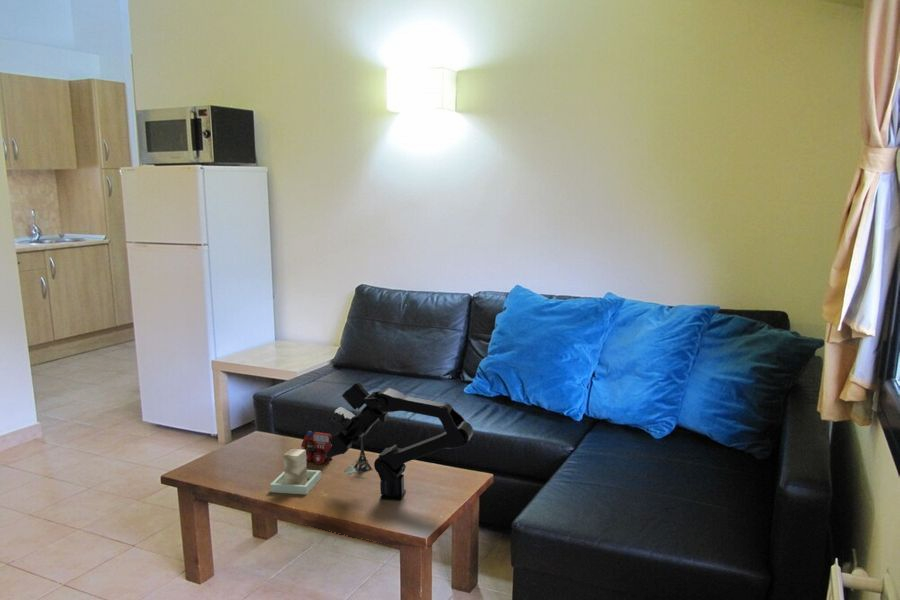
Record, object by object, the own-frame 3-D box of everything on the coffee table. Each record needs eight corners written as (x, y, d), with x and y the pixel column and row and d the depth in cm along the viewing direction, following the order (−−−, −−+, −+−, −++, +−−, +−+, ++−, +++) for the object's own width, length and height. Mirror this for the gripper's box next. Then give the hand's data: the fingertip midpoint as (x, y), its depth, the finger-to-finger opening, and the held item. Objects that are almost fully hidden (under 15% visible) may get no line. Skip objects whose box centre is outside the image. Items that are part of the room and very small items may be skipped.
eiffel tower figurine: (358, 459, 236) (357, 423, 234) (384, 463, 232) (383, 426, 230) (338, 476, 222) (336, 438, 220) (366, 480, 218) (364, 441, 216)
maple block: (307, 482, 216) (305, 449, 215) (299, 489, 211) (297, 456, 209) (293, 480, 218) (291, 448, 216) (285, 487, 212) (283, 454, 211)
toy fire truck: (309, 453, 241) (308, 426, 239) (337, 459, 235) (336, 430, 234) (297, 460, 235) (295, 432, 233) (326, 466, 229) (324, 437, 228)
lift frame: (321, 477, 219) (320, 470, 219) (306, 494, 207) (306, 486, 207) (286, 475, 222) (286, 468, 221) (270, 492, 209) (270, 484, 209)
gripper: (359, 392, 214) (329, 422, 218) (334, 410, 196) (302, 442, 201) (383, 417, 213) (352, 447, 218) (360, 437, 195) (327, 470, 200)
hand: (333, 451), depth 209 cm, fingers open, 9 cm apart
